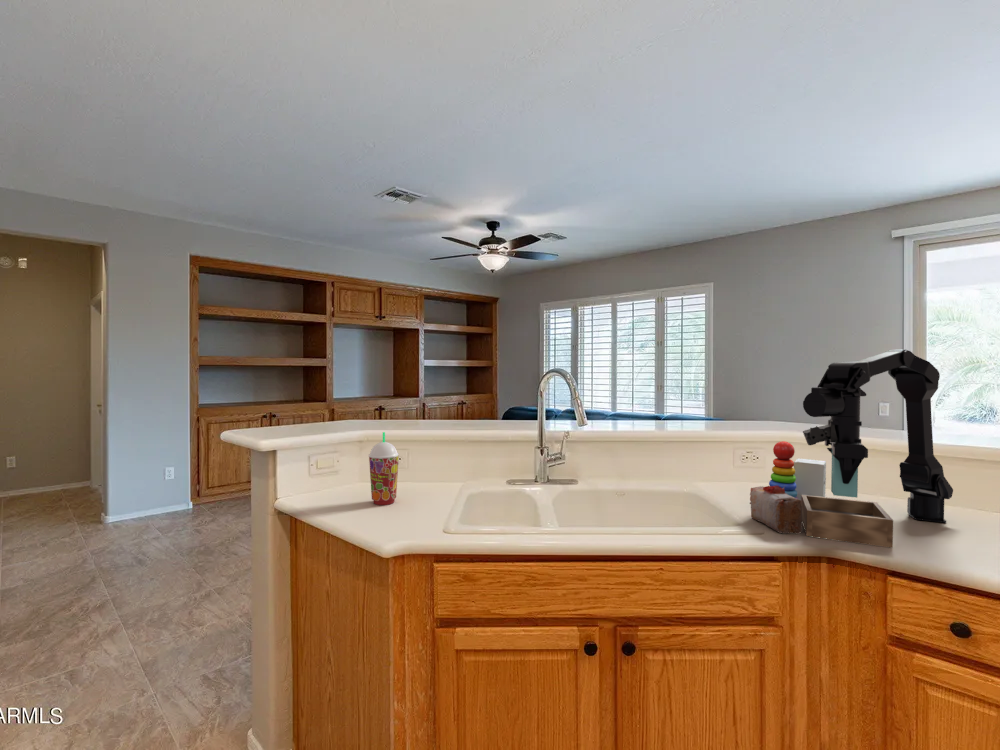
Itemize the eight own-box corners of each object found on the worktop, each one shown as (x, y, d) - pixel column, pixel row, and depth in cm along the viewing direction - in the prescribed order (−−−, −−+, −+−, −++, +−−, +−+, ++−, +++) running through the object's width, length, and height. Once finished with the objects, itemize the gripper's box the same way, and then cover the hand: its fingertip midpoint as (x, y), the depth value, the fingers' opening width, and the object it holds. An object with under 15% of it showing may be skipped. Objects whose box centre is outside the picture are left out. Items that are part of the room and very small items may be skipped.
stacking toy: (759, 507, 142) (760, 440, 141) (779, 504, 145) (780, 438, 145) (785, 515, 135) (786, 444, 134) (805, 512, 138) (807, 442, 137)
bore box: (876, 526, 126) (877, 502, 125) (892, 547, 111) (893, 520, 111) (801, 517, 133) (801, 494, 133) (806, 536, 118) (807, 510, 118)
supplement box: (823, 511, 139) (824, 464, 138) (792, 506, 143) (792, 461, 143) (826, 505, 145) (826, 460, 144) (795, 501, 149) (796, 457, 149)
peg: (853, 493, 123) (854, 451, 123) (857, 497, 119) (858, 454, 118) (831, 490, 125) (831, 449, 125) (833, 495, 121) (834, 452, 120)
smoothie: (362, 504, 143) (362, 433, 143) (380, 497, 151) (380, 429, 151) (387, 508, 140) (387, 435, 140) (404, 500, 148) (404, 431, 148)
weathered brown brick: (744, 517, 133) (745, 479, 133) (774, 516, 134) (775, 479, 134) (775, 534, 120) (776, 492, 120) (808, 534, 120) (809, 492, 120)
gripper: (802, 410, 133) (801, 470, 134) (809, 417, 116) (808, 486, 117) (853, 412, 128) (852, 475, 129) (869, 420, 112) (867, 491, 112)
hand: (844, 481), depth 122 cm, fingers closed on peg, 5 cm apart
